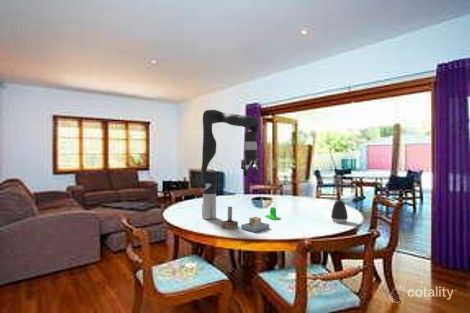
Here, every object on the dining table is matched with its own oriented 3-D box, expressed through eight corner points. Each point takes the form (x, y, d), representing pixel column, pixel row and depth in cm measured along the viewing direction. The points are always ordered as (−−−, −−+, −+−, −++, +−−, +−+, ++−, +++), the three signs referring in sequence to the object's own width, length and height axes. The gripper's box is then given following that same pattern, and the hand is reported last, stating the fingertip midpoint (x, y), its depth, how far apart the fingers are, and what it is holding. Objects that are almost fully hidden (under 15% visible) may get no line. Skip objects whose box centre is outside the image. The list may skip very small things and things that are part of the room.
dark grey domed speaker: (337, 225, 188) (337, 201, 188) (328, 221, 198) (328, 199, 198) (351, 224, 190) (351, 200, 190) (341, 221, 200) (341, 198, 200)
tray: (241, 229, 177) (241, 224, 177) (255, 225, 186) (255, 221, 186) (255, 232, 169) (255, 227, 169) (269, 229, 178) (269, 224, 178)
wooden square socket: (221, 228, 180) (221, 221, 180) (229, 226, 185) (229, 219, 185) (229, 230, 175) (229, 223, 175) (237, 228, 180) (237, 221, 180)
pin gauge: (226, 226, 180) (227, 206, 180) (229, 225, 182) (230, 206, 182) (229, 227, 179) (229, 207, 179) (232, 226, 180) (233, 206, 180)
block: (249, 227, 177) (249, 217, 177) (254, 226, 181) (254, 216, 181) (255, 229, 174) (255, 218, 174) (260, 227, 177) (260, 217, 177)
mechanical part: (265, 218, 210) (265, 207, 210) (272, 217, 212) (272, 206, 212) (272, 221, 199) (272, 209, 199) (280, 221, 201) (280, 209, 201)
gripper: (247, 149, 170) (247, 177, 170) (263, 149, 180) (263, 175, 180) (237, 149, 175) (237, 176, 175) (253, 149, 185) (253, 175, 185)
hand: (250, 176), depth 177 cm, fingers open, 8 cm apart
